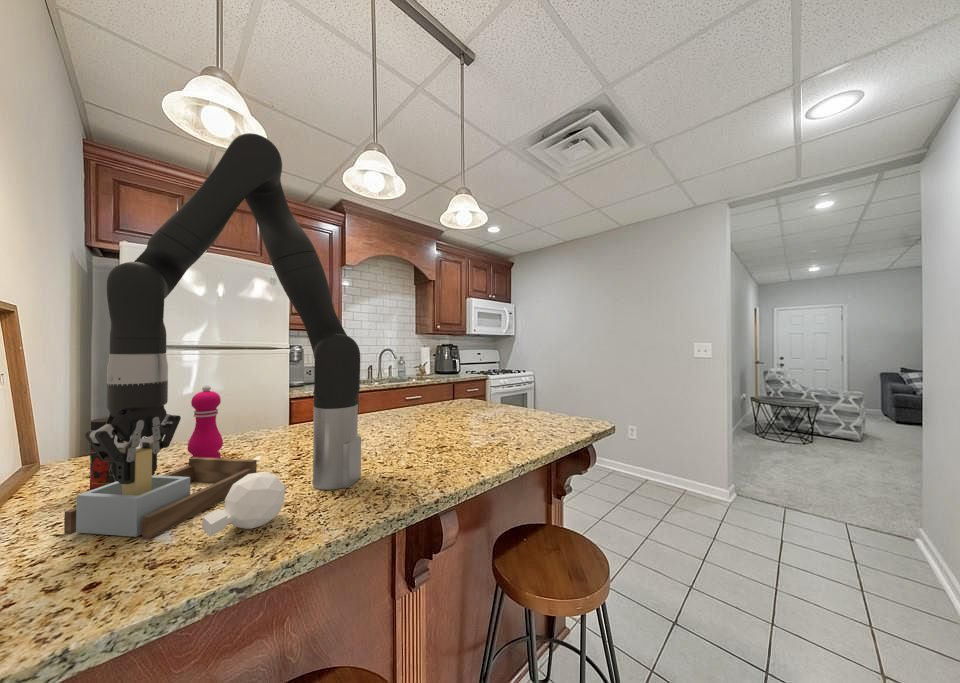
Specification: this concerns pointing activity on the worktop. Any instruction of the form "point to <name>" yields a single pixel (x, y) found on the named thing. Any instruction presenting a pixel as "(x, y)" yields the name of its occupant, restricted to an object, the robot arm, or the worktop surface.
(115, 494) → the box
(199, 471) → the bay
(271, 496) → the perfume bottle
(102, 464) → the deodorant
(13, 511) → the worktop surface
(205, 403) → the pepper mill
